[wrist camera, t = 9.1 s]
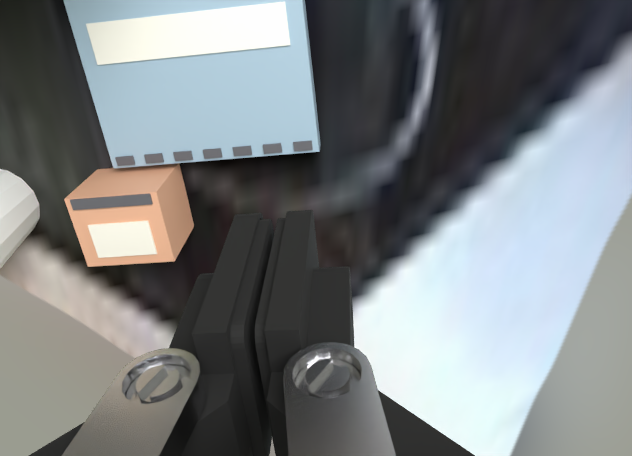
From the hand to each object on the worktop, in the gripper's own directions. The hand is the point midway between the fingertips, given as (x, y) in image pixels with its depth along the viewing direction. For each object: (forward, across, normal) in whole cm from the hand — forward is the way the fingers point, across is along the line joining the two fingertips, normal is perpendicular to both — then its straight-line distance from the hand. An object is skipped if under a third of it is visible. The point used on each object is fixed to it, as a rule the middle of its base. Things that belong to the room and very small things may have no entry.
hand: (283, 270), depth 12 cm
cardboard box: (+25, +14, +10) cm, 30 cm away
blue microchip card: (+25, +8, +1) cm, 26 cm away
